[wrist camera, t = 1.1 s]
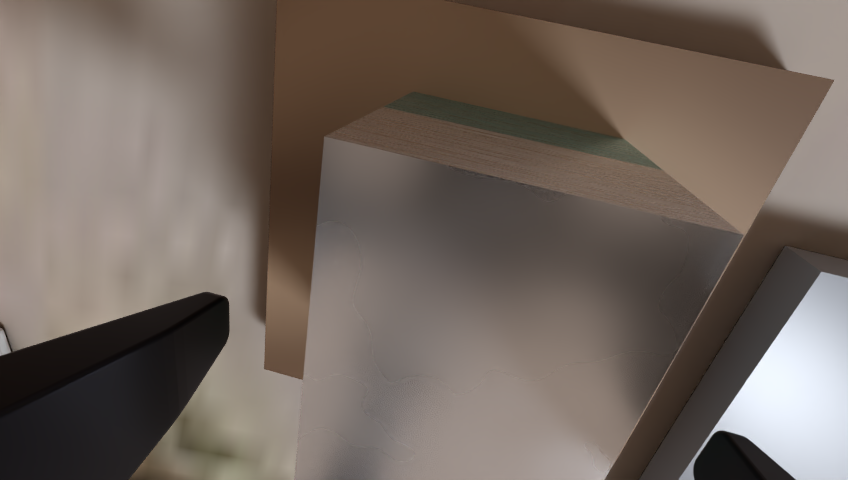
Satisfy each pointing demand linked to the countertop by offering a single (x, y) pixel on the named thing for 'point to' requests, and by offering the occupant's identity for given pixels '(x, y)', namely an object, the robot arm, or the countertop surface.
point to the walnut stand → (513, 93)
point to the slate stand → (776, 377)
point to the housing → (492, 295)
